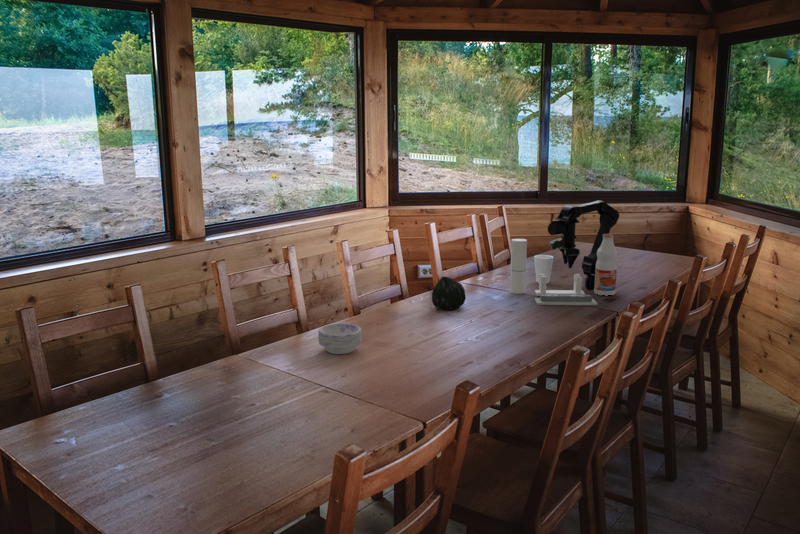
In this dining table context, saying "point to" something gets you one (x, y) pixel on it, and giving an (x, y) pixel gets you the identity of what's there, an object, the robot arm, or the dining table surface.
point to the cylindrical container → (518, 266)
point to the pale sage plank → (565, 303)
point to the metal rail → (565, 298)
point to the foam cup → (543, 266)
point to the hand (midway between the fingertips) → (567, 266)
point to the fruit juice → (606, 267)
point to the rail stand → (576, 290)
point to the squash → (448, 294)
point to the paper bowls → (340, 337)
